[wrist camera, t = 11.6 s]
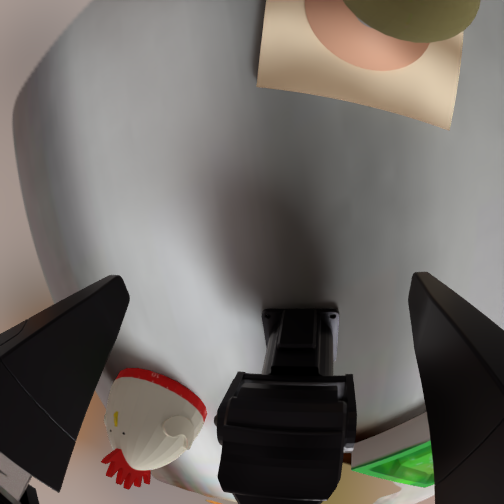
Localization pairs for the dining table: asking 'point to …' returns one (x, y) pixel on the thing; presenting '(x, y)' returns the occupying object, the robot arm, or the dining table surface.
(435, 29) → the light bulb
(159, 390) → the kitchen timer
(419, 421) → the tray
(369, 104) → the square board
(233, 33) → the dining table surface
